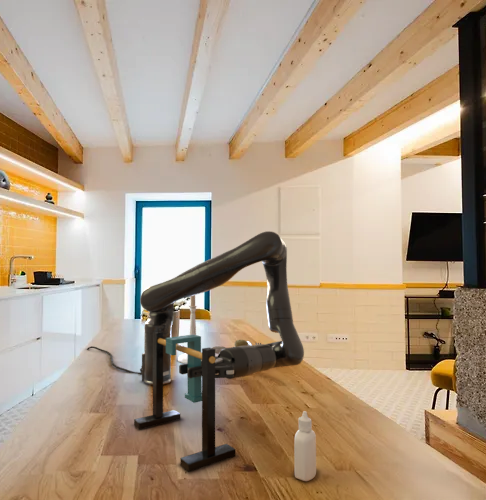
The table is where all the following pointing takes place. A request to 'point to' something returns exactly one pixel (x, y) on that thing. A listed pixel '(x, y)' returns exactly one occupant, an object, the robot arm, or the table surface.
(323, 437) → the table surface
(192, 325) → the candlestick
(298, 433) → the eye dropper bottle
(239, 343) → the cork
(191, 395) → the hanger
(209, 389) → the rack
